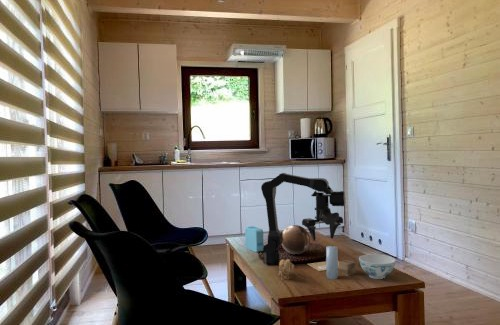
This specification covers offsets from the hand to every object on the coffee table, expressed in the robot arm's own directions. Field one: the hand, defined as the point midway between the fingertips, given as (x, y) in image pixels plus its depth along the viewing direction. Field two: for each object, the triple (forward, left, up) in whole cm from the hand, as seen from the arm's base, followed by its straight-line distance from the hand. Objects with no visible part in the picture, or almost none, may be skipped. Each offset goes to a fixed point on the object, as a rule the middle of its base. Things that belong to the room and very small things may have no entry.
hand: (323, 239), depth 194 cm
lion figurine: (-22, -6, -13) cm, 26 cm away
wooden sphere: (-2, +26, -13) cm, 29 cm away
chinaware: (+14, -21, -13) cm, 28 cm away
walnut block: (+5, -12, -13) cm, 18 cm away
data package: (-19, +43, -13) cm, 49 cm away
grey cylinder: (-4, -14, -13) cm, 20 cm away
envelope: (+3, +1, -13) cm, 13 cm away
